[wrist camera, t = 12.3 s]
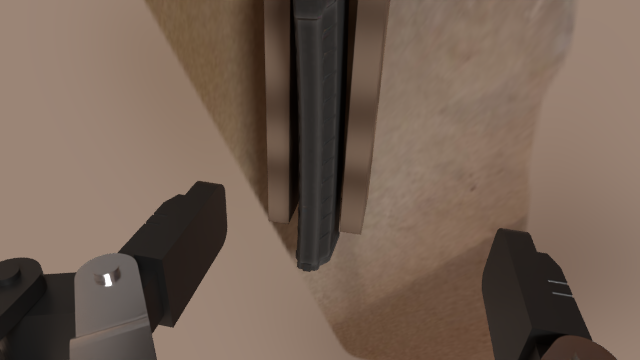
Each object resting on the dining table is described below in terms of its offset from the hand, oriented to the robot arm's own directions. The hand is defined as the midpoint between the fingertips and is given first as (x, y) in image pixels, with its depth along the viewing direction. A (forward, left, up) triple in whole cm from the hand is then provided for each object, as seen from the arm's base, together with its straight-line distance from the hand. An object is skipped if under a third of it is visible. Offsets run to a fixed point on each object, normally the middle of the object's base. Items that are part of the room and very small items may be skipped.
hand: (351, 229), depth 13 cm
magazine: (+6, -5, -29) cm, 30 cm away
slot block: (+5, -5, -30) cm, 31 cm away
